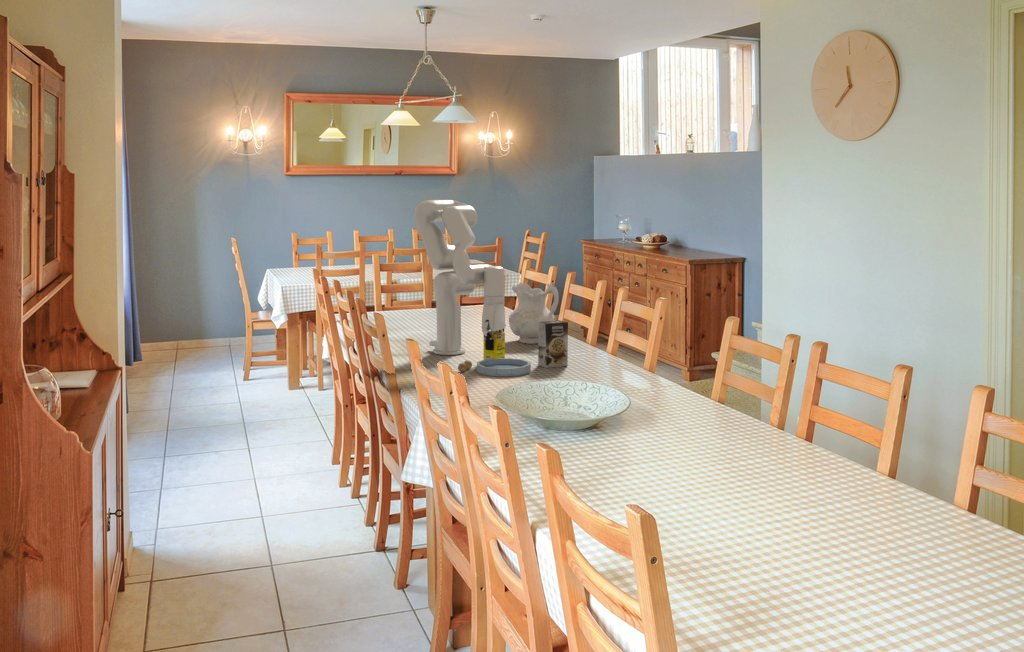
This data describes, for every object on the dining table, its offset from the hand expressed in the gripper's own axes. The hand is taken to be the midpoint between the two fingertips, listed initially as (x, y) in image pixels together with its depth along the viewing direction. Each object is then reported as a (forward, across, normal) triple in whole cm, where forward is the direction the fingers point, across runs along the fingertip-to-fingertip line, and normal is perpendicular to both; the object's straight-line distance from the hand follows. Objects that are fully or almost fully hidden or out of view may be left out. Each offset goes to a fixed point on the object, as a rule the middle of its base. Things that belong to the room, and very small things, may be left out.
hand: (494, 348), depth 335 cm
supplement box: (+5, 0, 0) cm, 5 cm away
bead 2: (+5, +16, -2) cm, 17 cm away
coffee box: (+5, -4, +22) cm, 23 cm away
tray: (+5, +13, +11) cm, 18 cm away
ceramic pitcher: (+6, -46, -7) cm, 47 cm away
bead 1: (+5, +21, -1) cm, 22 cm away
